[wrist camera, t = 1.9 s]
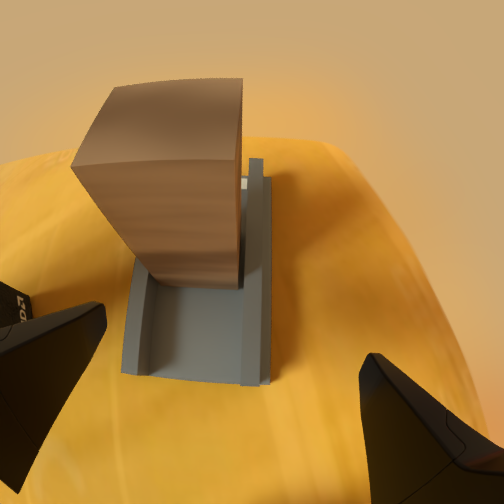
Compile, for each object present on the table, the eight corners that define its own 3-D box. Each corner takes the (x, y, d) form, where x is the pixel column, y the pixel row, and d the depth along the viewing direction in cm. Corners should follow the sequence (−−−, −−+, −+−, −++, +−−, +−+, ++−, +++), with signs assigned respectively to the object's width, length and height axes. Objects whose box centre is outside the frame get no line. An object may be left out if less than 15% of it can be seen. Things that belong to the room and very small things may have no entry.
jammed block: (238, 289, 21) (234, 159, 8) (160, 285, 21) (70, 167, 8) (241, 230, 23) (242, 78, 10) (169, 228, 23) (114, 87, 10)
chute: (268, 384, 20) (273, 386, 16) (128, 371, 19) (109, 370, 16) (270, 183, 27) (273, 159, 24) (159, 181, 27) (150, 158, 23)
